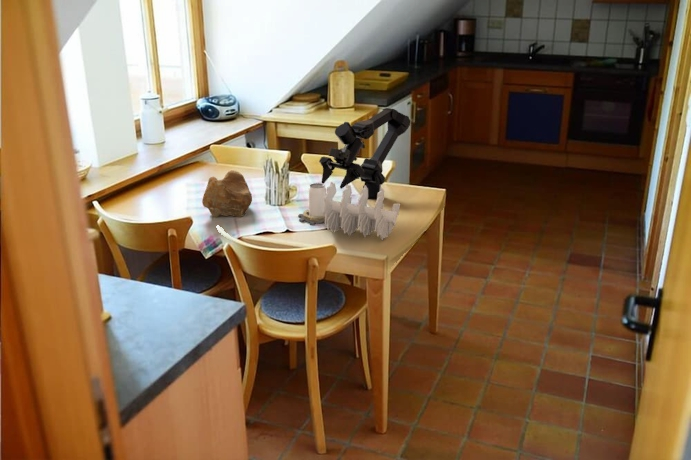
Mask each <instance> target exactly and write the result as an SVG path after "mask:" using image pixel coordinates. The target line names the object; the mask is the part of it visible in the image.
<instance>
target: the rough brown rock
mask: <svg viewBox="0 0 691 460" xmlns="http://www.w3.org/2000/svg"><path fill="white" fill-rule="evenodd" d="M252 202H253V196H252V193H251V191H250V188H249V185H248V183H247V181H246V180H245V178H244V175H243V174H242V173H241V172H239V171H237V170H228V172H227V173H226V174H225V175H224V178H222V179H219V180H218V178H217V177H215V176H210V177H209V178H208V181H207V185H206V188H205V191H204V192H203V196H202V206H203V207H204V208H207V209H208V211H209V213H210V215H211V216H212V217H214V218H217V217H220V216H223V217H226V216H227V217H228V216H233V217H235V218H242V217H243V216H245V214H246V213H247V211H248V209H249V208H250V206H251V204H252Z"/></svg>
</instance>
